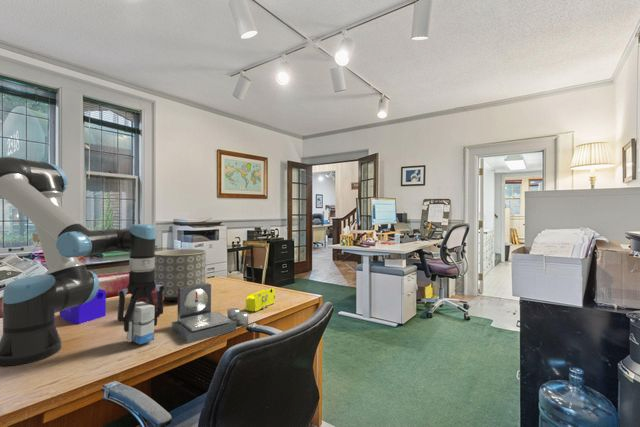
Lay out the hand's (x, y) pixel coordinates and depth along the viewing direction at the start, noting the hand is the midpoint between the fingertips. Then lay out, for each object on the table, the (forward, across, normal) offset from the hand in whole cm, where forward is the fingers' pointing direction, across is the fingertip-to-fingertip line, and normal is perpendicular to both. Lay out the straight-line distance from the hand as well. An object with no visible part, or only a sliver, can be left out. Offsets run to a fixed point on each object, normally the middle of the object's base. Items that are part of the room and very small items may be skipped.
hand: (140, 338), depth 105 cm
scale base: (+1, +20, -2) cm, 21 cm away
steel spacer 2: (+1, +34, -6) cm, 35 cm away
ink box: (+1, 0, 0) cm, 1 cm away
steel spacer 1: (+1, +34, +1) cm, 34 cm away
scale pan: (-2, +20, -4) cm, 21 cm away
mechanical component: (+2, +9, +26) cm, 27 cm away
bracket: (+3, -14, +46) cm, 48 cm away
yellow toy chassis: (+1, +52, +7) cm, 52 cm away
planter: (+2, +28, +48) cm, 56 cm away
